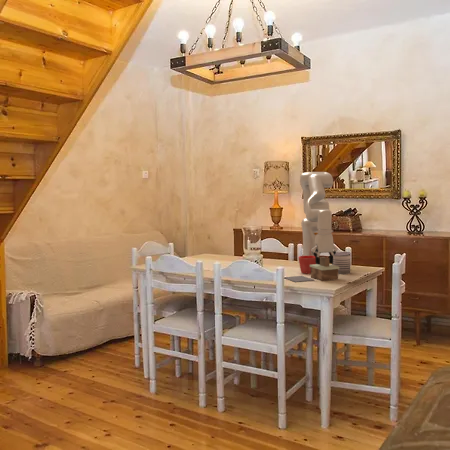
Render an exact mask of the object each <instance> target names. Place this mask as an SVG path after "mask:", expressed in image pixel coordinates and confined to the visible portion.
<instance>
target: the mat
mask: <svg viewBox="0 0 450 450" xmlns="http://www.w3.org/2000/svg"><path fill="white" fill-rule="evenodd" d="M284 280H287V281H290V282H293V283H301V282H302V283H303V282H313V281H315V280H316V279H314V278H311V277H307V276H303V275H296V276H295V275H294V276H285V278H284Z"/></svg>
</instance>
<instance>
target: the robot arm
mask: <svg viewBox="0 0 450 450" xmlns="http://www.w3.org/2000/svg"><path fill="white" fill-rule="evenodd" d="M299 183H300V187H301V189H302V194H303V198H302V199H303V201H302V202H303V213H304V214H305V217H304V218H303V219H302V220H301V224H300V225H301V231H302V256H315V262H316V264H320V257H321V254H324V253H328V254H329V255H328V258H329V264H332V263H333V256H334V255H335V253H336V252H338V247H337V246H335V245H334V237H333V234H332V233H333V232H334V229H332V219H333V218H332V211H331V209H330V204H329V202H328V200H325V198H326V191H325V189H326V188H332V187H333V185H334V177H333V176H332V174H331V173H329V172H327V171H306V172H302V173H301V174H300V175H299ZM315 233H317V234H315Z"/></svg>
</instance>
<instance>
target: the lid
mask: <svg viewBox="0 0 450 450" xmlns="http://www.w3.org/2000/svg"><path fill="white" fill-rule="evenodd" d="M319 257H320V264H313V265H310V267H312V268H316V269H319V270H332V269H339V267H338V266H335V265H332V263H329V257H325V256H319Z"/></svg>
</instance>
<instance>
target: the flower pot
mask: <svg viewBox="0 0 450 450" xmlns="http://www.w3.org/2000/svg"><path fill="white" fill-rule="evenodd" d="M297 257H298V264H299V268H300V273H301V274H302V275H304V274H305V275H309V274H310V275H311V267H310V265H313V264H316V262H315V256H303V255H299V256H297Z"/></svg>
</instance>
